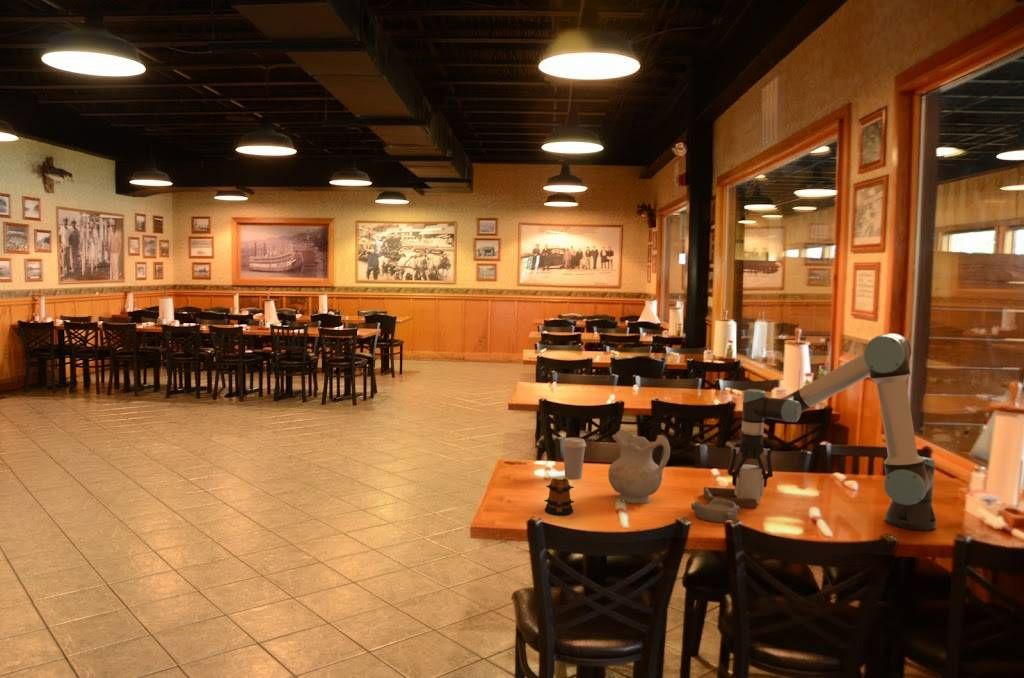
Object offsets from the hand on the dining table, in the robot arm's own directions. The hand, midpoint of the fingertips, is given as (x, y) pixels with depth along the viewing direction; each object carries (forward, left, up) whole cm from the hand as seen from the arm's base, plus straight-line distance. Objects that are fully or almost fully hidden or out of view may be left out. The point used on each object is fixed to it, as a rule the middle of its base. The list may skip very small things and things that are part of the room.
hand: (748, 495), depth 280 cm
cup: (0, 0, -2) cm, 2 cm away
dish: (-19, +15, -3) cm, 24 cm away
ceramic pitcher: (-3, +40, -3) cm, 40 cm away
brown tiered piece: (-23, +68, -3) cm, 72 cm away
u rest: (0, +7, -3) cm, 7 cm away
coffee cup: (+23, +63, -3) cm, 67 cm away
